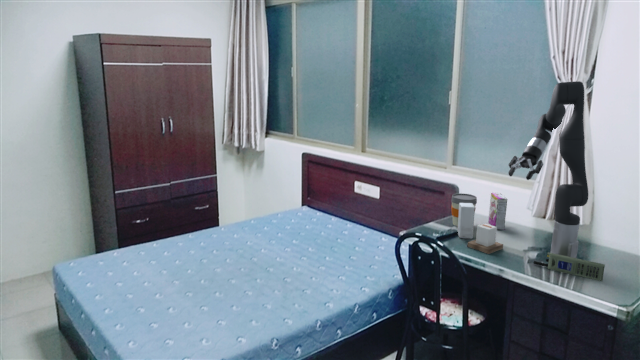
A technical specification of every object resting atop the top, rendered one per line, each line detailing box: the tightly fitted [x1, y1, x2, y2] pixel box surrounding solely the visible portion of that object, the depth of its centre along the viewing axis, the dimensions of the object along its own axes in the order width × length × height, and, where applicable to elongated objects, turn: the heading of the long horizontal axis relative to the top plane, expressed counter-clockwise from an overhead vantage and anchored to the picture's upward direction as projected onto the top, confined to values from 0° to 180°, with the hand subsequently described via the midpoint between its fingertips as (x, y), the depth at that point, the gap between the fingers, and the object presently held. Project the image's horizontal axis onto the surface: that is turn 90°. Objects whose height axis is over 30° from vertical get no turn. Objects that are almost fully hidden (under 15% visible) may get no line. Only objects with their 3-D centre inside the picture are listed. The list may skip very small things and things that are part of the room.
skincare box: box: [457, 203, 476, 239], centre depth 229 cm, size 8×7×16 cm
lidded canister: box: [450, 192, 478, 227], centre depth 246 cm, size 13×13×15 cm
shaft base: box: [467, 239, 504, 255], centre depth 216 cm, size 11×11×8 cm
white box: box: [475, 223, 498, 247], centre depth 215 cm, size 6×6×8 cm
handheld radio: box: [533, 252, 606, 282], centre depth 191 cm, size 7×3×25 cm
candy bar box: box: [487, 192, 508, 231], centre depth 244 cm, size 11×5×16 cm, turn 179°
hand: (518, 177), depth 219 cm, fingers open, 8 cm apart
